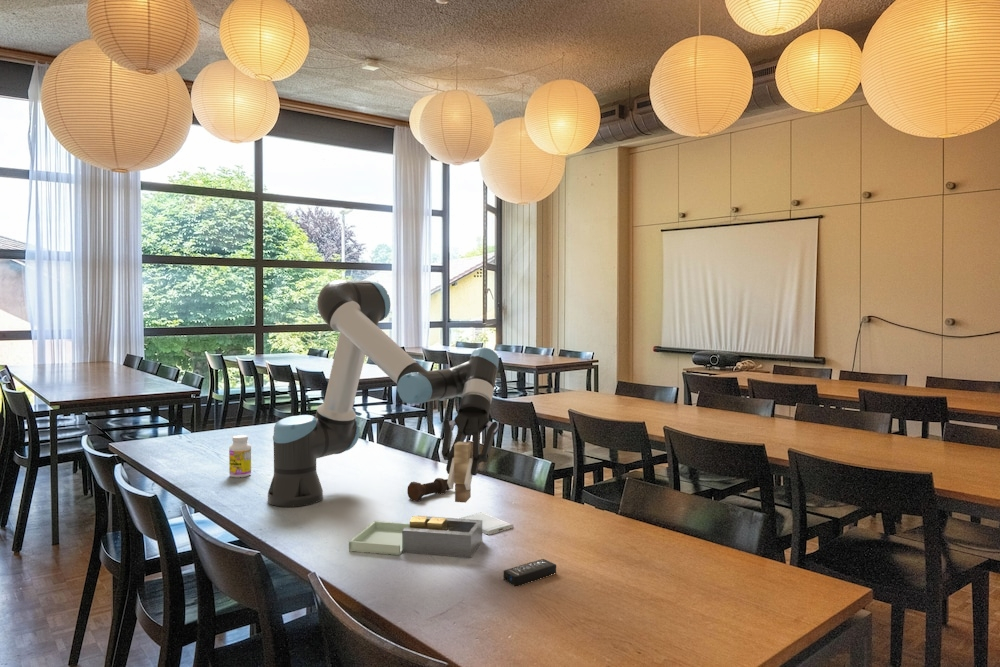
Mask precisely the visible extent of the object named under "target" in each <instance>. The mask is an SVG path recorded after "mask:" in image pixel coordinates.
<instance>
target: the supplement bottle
mask: <svg viewBox="0 0 1000 667" xmlns="http://www.w3.org/2000/svg"><path fill="white" fill-rule="evenodd" d="M248 439H249V436H248V435H245V434H242V435H241V434H238V435H233V436H232V438H231V440H232V444H230V445H229V450H228V451H229V454H228V455H229V464H228V466H229V469H228V470H229V472H228V473H229V476H230V477H231V478H235V479H236V478H237V479H238V478H240V477H241V478H246V477H249V476H251V474H252V445H251V444H250V443H248Z"/></svg>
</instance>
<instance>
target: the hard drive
mask: <svg viewBox="0 0 1000 667" xmlns="http://www.w3.org/2000/svg"><path fill="white" fill-rule="evenodd" d="M458 519H472V520H482V534H484V535H485V534H486V535H487V534H488V536H489V535H493V534H496V533H500V532H504V531H506V529H507V530H511V529H513V528H514V524H512V523H511V522H510V523H509V522H507V521H504V520H501V519H499V518H497V517H494V516H491V515H490V514H486V513H484V512H477V513H473V514H470V515H469V514H468V515H465V516H462V517H459V518H458ZM510 528H511V529H510ZM503 530H504V531H503ZM499 531H500V532H499ZM492 533H493V534H492Z"/></svg>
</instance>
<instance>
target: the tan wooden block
mask: <svg viewBox="0 0 1000 667" xmlns="http://www.w3.org/2000/svg"><path fill="white" fill-rule="evenodd" d="M431 517H432V518H431V519H430V520H429V521H428V522H427V529H431V530H444V531H447V518H448V517H444V518H435V517H436V516H431Z"/></svg>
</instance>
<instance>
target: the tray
mask: <svg viewBox="0 0 1000 667" xmlns="http://www.w3.org/2000/svg"><path fill="white" fill-rule="evenodd" d="M404 528H410V523H406V522H405V523H404V522H393V521H392V522H391V521H377V520H374V521H373V522H372V523H370V524H369V525H368V526H367V527H365V528H364V529H363V530H362V531H360V532H359V533H358V534H357V535H355V536H354V537H352V539H350V540H349V541H348V552H352V551H357V552H356V553H364V552H370V553H369V554H376V553H379V554H380V555H388V554H391V556H400V555H401V554H402V553H403V552H402V530H403V529H404ZM379 554H378V555H379Z"/></svg>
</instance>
